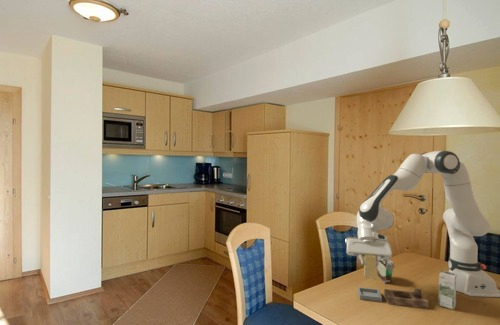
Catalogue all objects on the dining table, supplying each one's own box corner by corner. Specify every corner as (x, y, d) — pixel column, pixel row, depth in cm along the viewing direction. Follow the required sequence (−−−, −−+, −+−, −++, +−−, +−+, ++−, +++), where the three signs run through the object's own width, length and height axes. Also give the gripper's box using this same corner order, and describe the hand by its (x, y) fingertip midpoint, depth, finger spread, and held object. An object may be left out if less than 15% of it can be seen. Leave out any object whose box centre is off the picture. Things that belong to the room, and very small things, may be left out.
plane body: (422, 299, 132) (422, 286, 132) (428, 308, 125) (428, 295, 124) (384, 295, 136) (384, 282, 136) (388, 303, 128) (388, 290, 128)
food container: (398, 285, 147) (398, 265, 147) (386, 284, 147) (386, 265, 147) (387, 275, 159) (387, 257, 159) (376, 274, 160) (376, 256, 159)
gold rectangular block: (373, 276, 136) (374, 254, 136) (375, 279, 132) (375, 257, 132) (363, 274, 137) (364, 254, 137) (364, 277, 133) (365, 256, 133)
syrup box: (456, 305, 127) (457, 273, 127) (453, 310, 123) (454, 277, 123) (440, 301, 131) (441, 269, 131) (438, 305, 127) (438, 273, 127)
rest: (378, 293, 138) (378, 289, 138) (381, 302, 130) (381, 297, 130) (357, 291, 140) (357, 287, 140) (360, 299, 132) (360, 295, 132)
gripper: (345, 233, 143) (346, 259, 134) (390, 236, 139) (394, 264, 129) (344, 239, 148) (345, 265, 139) (388, 243, 143) (392, 270, 134)
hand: (369, 264), depth 134 cm, fingers closed on gold rectangular block, 4 cm apart
